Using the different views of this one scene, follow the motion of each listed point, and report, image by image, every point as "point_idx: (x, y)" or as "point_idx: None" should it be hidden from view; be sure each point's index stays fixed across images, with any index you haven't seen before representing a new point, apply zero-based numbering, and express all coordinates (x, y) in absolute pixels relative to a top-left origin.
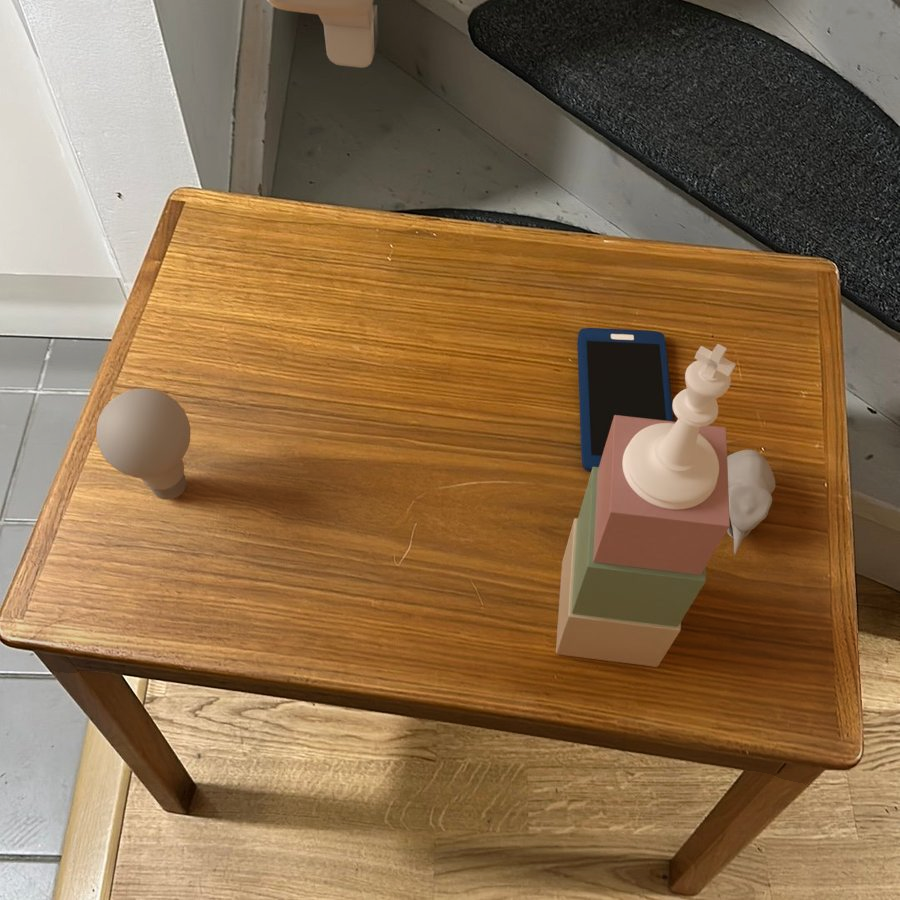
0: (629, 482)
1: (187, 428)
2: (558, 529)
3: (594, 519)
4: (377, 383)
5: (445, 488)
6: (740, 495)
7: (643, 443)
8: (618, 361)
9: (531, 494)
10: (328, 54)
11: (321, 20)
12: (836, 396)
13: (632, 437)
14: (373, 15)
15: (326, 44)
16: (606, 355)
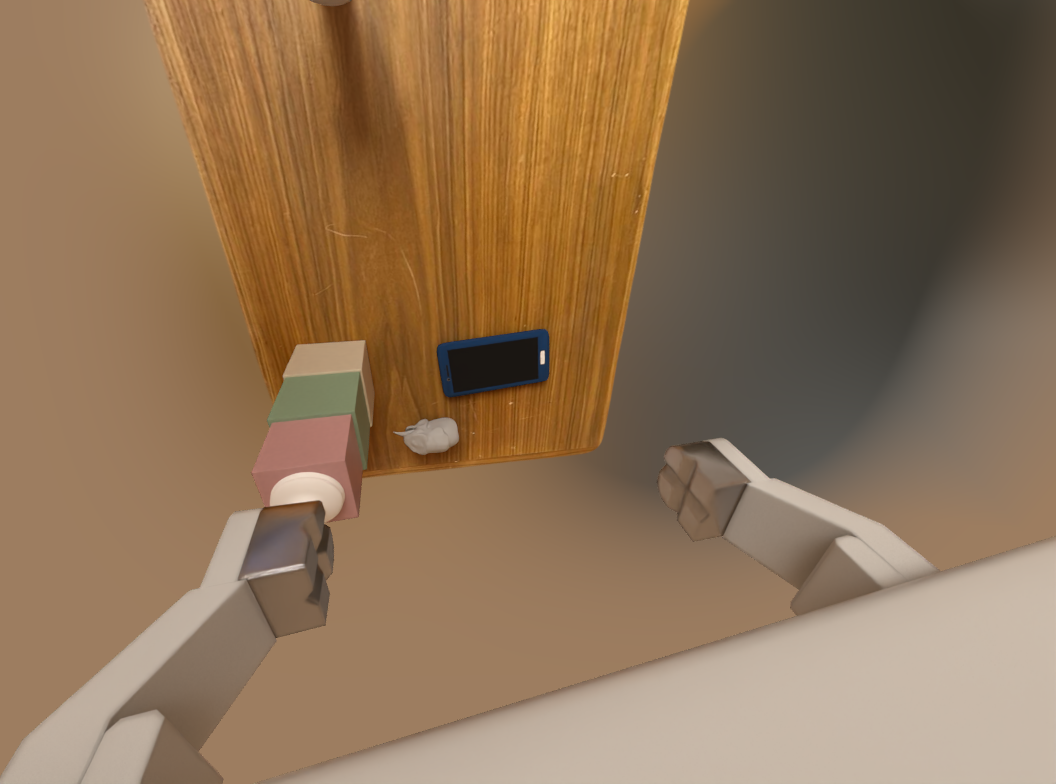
0: (282, 480)
1: (333, 2)
2: (389, 334)
3: (308, 418)
4: (488, 184)
5: (402, 255)
6: (420, 441)
7: (311, 490)
8: (522, 357)
9: (412, 314)
10: (226, 523)
11: (175, 603)
12: (513, 461)
13: (327, 473)
14: (270, 646)
15: (221, 538)
16: (526, 350)
